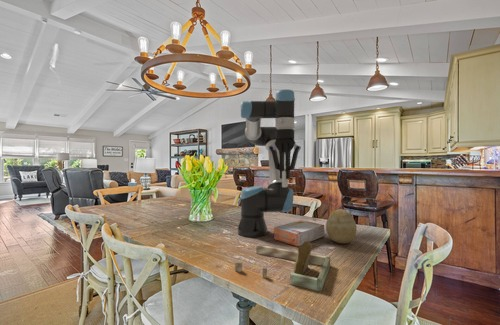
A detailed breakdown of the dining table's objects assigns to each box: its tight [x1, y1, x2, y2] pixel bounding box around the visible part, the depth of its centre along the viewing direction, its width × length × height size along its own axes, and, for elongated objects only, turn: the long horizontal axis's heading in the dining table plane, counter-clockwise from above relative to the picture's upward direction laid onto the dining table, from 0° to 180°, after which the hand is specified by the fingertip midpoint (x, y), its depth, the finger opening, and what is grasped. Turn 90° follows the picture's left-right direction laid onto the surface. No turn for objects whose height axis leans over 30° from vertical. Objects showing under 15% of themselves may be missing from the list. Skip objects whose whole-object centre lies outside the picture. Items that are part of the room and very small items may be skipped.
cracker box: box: [273, 219, 325, 247], centre depth 112 cm, size 14×6×21 cm
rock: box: [293, 241, 313, 275], centre depth 79 cm, size 11×9×10 cm
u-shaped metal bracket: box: [234, 244, 331, 292], centre depth 81 cm, size 28×18×3 cm, turn 63°
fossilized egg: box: [325, 208, 357, 244], centre depth 105 cm, size 13×13×15 cm
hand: (284, 186), depth 97 cm, fingers closed
